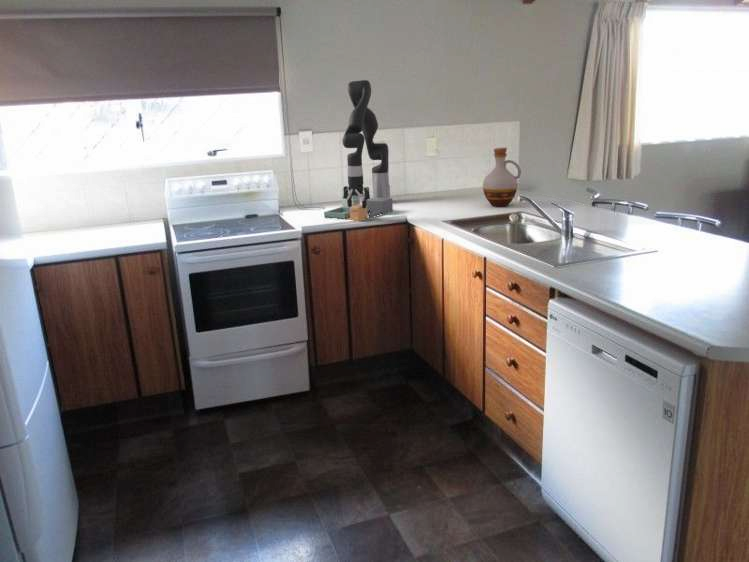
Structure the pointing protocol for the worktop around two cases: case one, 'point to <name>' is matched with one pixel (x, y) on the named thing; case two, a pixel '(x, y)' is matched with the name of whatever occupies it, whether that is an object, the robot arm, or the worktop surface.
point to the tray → (338, 213)
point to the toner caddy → (358, 213)
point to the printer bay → (379, 206)
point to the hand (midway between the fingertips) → (357, 207)
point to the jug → (500, 181)
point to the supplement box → (354, 199)
